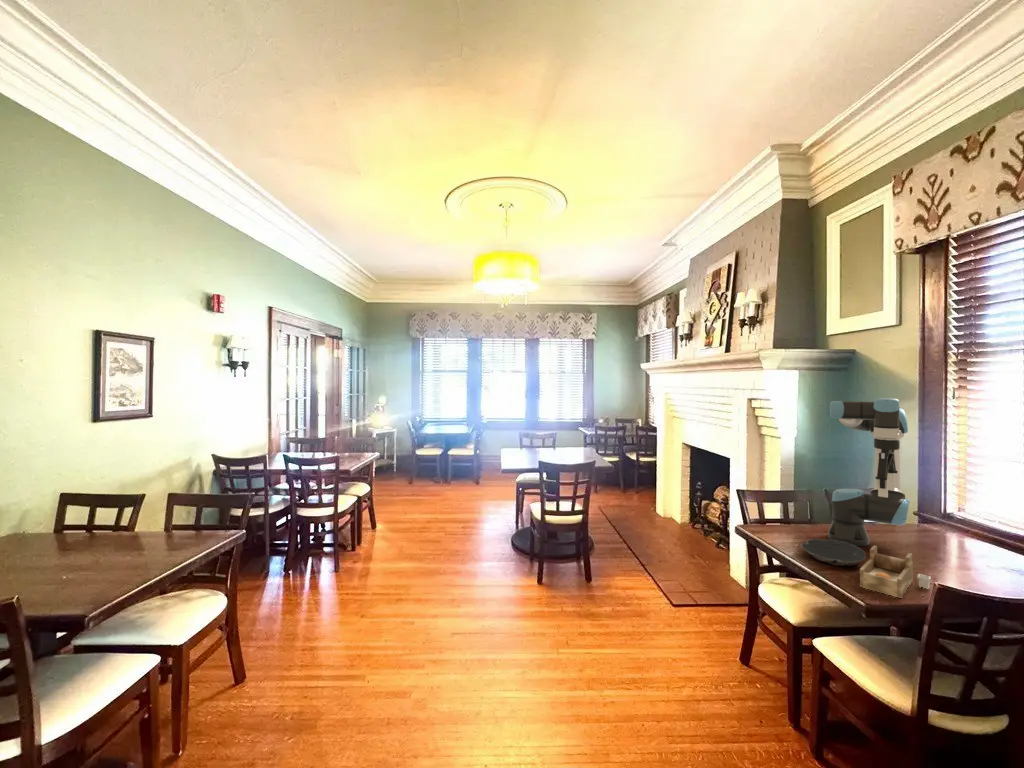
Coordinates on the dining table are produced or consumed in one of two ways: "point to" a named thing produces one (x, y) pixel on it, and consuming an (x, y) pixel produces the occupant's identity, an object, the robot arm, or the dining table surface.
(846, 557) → the board
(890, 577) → the ball
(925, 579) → the grey egg cup
